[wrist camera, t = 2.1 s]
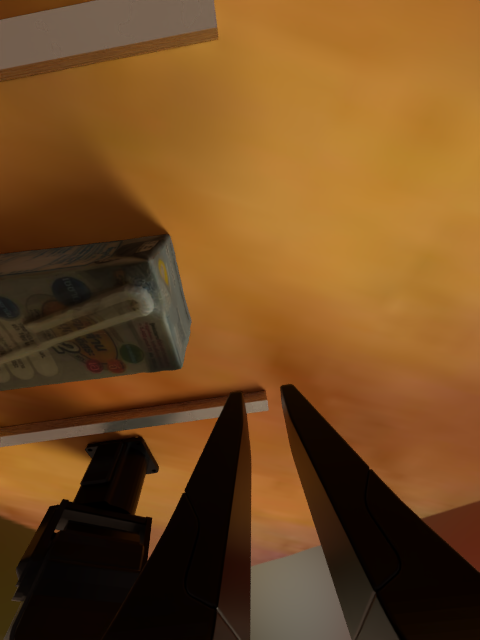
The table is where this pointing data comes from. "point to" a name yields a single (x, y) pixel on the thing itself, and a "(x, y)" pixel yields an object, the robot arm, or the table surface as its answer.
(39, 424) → the bay
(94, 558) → the robot arm
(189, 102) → the table surface
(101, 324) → the beverage carton
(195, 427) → the table surface
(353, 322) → the table surface
